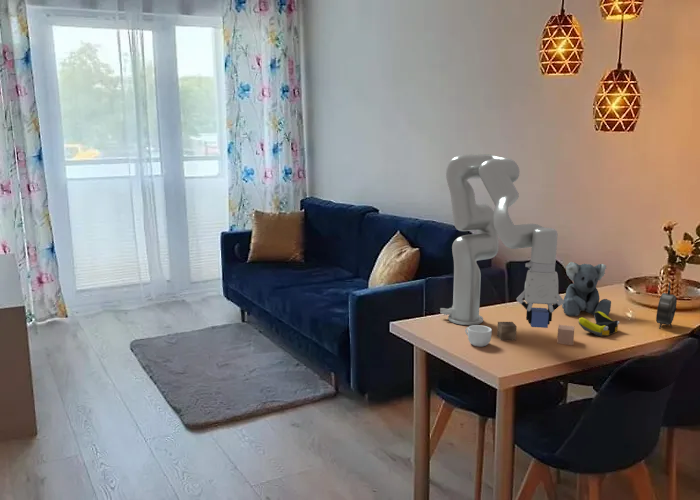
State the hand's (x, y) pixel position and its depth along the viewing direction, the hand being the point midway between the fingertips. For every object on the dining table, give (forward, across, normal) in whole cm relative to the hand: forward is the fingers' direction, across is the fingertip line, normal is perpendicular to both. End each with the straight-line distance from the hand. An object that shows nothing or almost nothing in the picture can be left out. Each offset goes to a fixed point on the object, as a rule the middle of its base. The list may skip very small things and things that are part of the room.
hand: (538, 322), depth 210 cm
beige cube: (+9, +10, +8) cm, 15 cm away
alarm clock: (+9, +49, +31) cm, 58 cm away
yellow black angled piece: (+9, +24, +21) cm, 33 cm away
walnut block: (+9, -9, +9) cm, 15 cm away
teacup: (+9, -19, +1) cm, 21 cm away
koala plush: (+9, +23, +47) cm, 53 cm away
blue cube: (+1, 0, 0) cm, 1 cm away
